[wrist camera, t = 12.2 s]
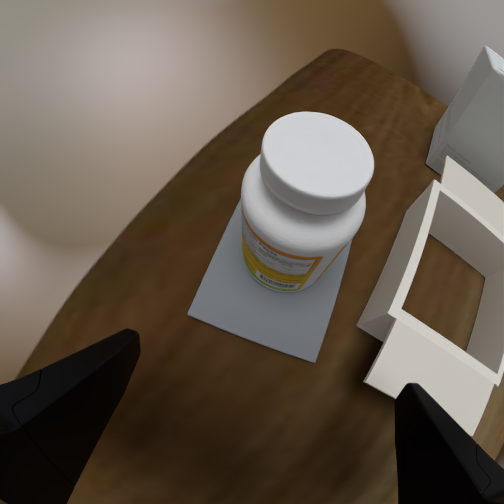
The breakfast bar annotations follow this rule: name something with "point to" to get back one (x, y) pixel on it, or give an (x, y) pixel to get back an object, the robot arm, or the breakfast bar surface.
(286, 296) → the mat
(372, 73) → the breakfast bar surface
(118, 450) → the breakfast bar surface
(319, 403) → the breakfast bar surface
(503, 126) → the supplement box
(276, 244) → the supplement bottle
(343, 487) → the breakfast bar surface
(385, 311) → the carton
